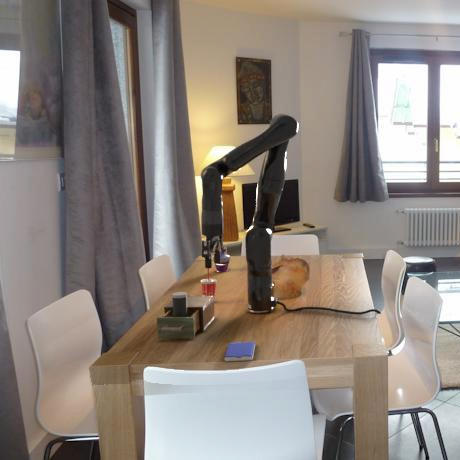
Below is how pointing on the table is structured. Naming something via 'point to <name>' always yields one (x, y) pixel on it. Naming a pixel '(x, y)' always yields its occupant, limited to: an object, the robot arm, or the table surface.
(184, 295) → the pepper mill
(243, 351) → the hard drive
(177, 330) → the drawer
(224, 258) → the potion bottle
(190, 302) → the cabinet
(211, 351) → the table surface
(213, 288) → the beverage cup
